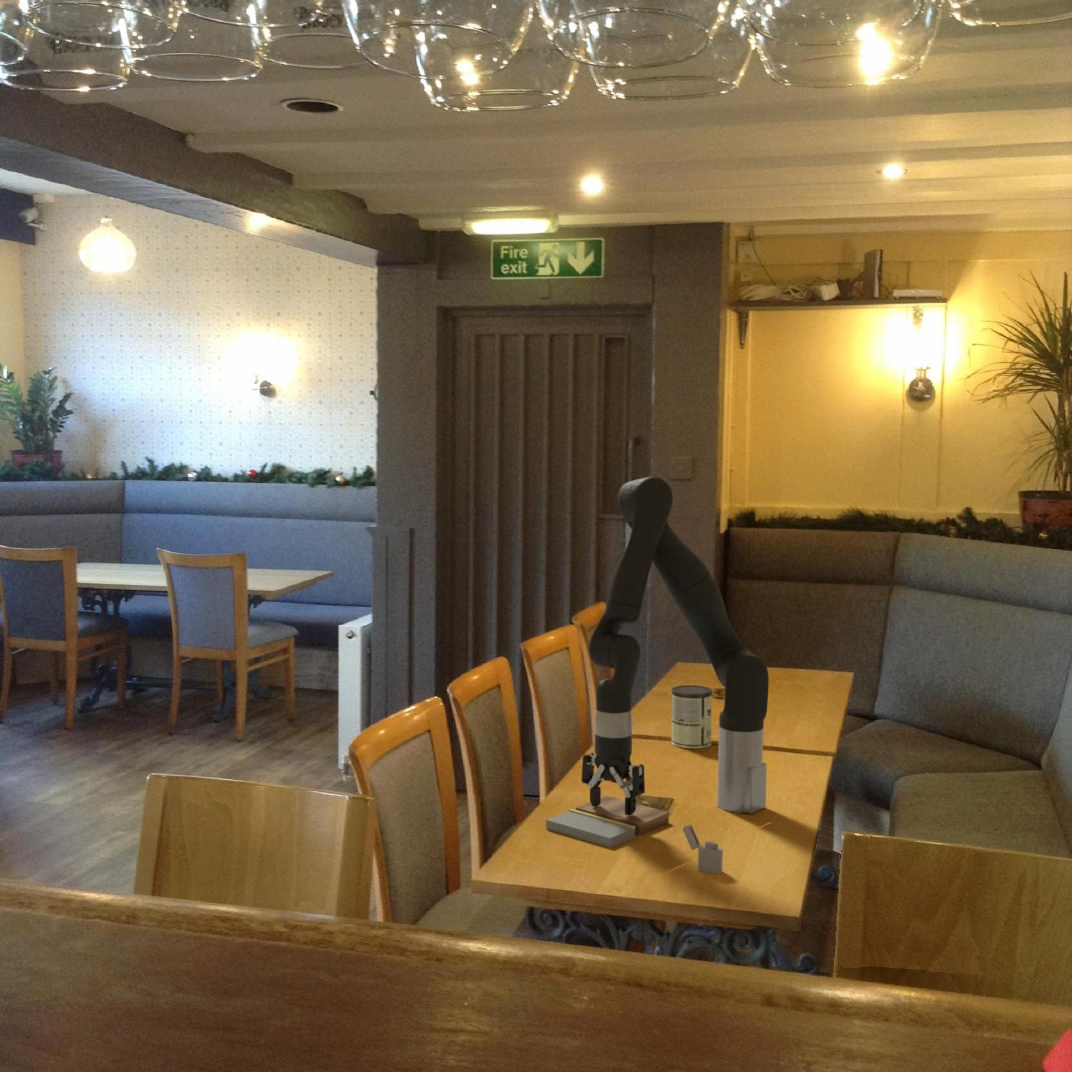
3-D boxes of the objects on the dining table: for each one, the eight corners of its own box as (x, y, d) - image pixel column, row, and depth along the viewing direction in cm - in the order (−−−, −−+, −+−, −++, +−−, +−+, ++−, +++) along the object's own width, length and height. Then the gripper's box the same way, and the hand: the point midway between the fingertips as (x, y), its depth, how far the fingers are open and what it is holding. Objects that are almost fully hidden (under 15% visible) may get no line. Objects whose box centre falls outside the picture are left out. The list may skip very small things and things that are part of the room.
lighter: (722, 870, 213) (723, 827, 213) (720, 874, 212) (721, 830, 211) (683, 865, 216) (684, 822, 215) (681, 868, 214) (682, 825, 213)
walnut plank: (668, 821, 239) (668, 812, 239) (639, 834, 231) (639, 825, 231) (605, 805, 249) (605, 795, 249) (576, 817, 242) (576, 807, 242)
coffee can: (670, 737, 306) (671, 684, 305) (710, 739, 305) (711, 685, 304) (670, 748, 296) (671, 693, 295) (712, 749, 295) (713, 694, 294)
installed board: (635, 837, 230) (635, 826, 230) (610, 848, 224) (610, 836, 224) (571, 819, 241) (571, 808, 241) (546, 829, 235) (546, 818, 235)
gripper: (653, 734, 236) (651, 813, 238) (597, 722, 245) (596, 798, 247) (630, 741, 230) (629, 822, 232) (574, 728, 240) (573, 806, 241)
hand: (612, 809), depth 239 cm, fingers open, 8 cm apart
